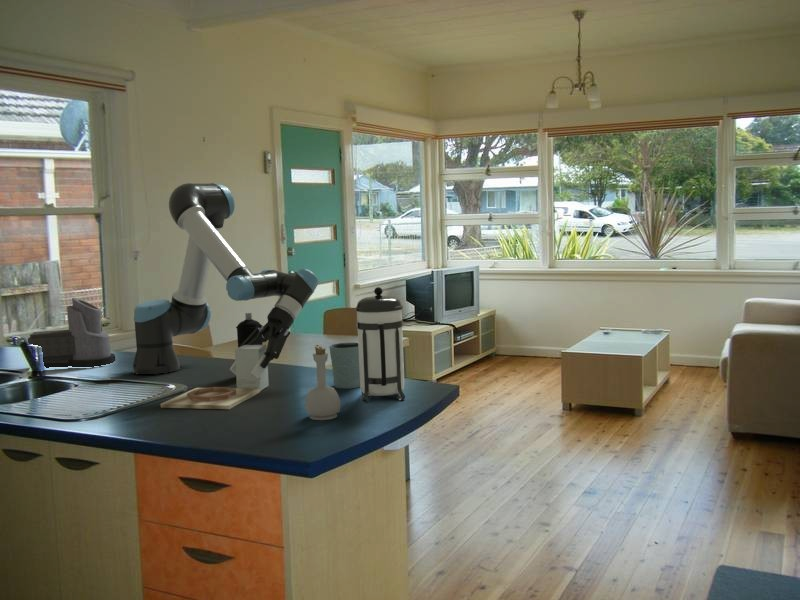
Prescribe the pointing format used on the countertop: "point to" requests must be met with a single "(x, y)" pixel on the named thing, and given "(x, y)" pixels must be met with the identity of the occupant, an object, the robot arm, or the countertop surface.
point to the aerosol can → (246, 328)
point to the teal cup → (345, 365)
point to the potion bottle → (322, 392)
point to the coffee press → (380, 346)
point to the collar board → (211, 398)
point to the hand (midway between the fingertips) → (243, 374)
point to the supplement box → (250, 367)
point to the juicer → (76, 339)
